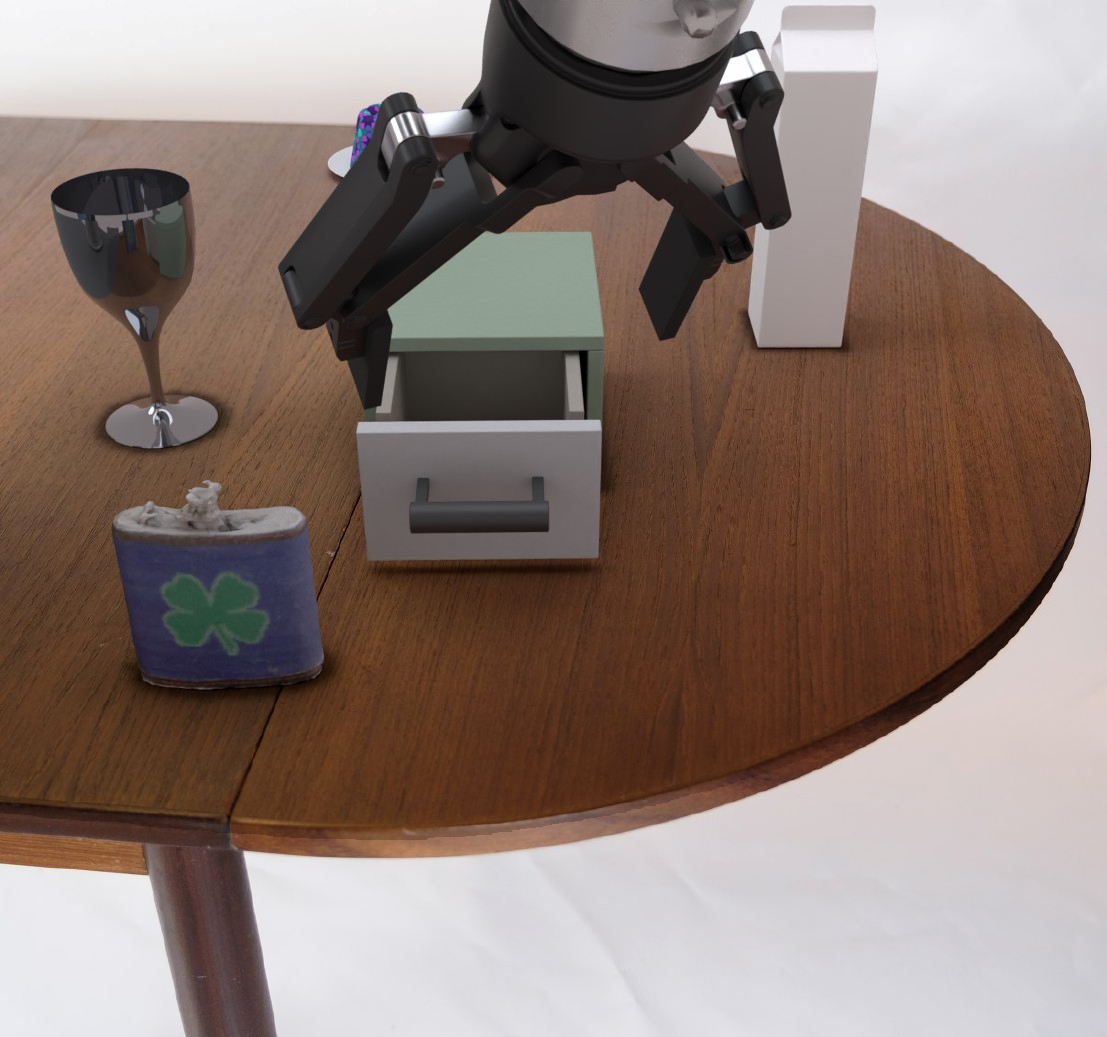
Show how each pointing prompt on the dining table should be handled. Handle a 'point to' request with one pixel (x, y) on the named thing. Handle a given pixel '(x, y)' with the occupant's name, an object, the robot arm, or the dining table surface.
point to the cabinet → (511, 304)
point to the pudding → (356, 141)
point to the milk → (816, 174)
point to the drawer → (481, 459)
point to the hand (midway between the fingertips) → (513, 346)
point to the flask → (219, 593)
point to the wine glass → (136, 281)
